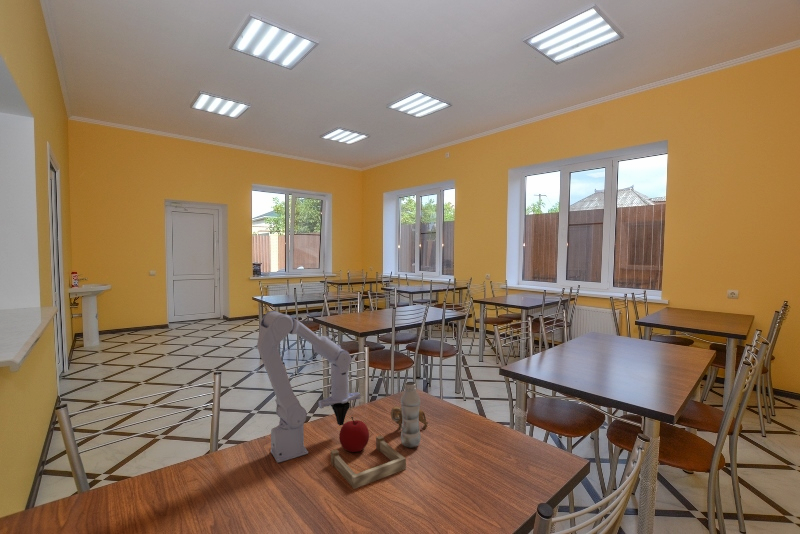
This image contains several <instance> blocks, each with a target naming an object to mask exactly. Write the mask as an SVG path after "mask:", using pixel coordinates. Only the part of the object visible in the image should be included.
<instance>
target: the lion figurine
mask: <svg viewBox="0 0 800 534" xmlns="http://www.w3.org/2000/svg"><path fill="white" fill-rule="evenodd" d="M390 418H391V420H392V422H394V423H395V424H397V425H398V427H397V430H398V431H401V430H402V408H401V407H400V406H394V407H392V408H391V411H390ZM426 418H427V417H426V415H425V412H424V410H422V409H420V408H419V423H422V424H423V426H422V428H423V429H425V430H426V429H427V428H428V424H429V422H428V421H427V419H426Z"/></svg>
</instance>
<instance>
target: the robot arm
mask: <svg viewBox="0 0 800 534" xmlns="http://www.w3.org/2000/svg"><path fill="white" fill-rule="evenodd" d="M289 334H291V335H297V336H298V337H300V338H302V339H304V341H307V342H308V343H309V344H311V345H312V349H313V351H314V352H315V353H316V354H318V355H320V356H321V357H322V358H324V359H325V360H327V362H328V363H330V382H331V383H330V387H331V389H330V390H331V392H330V393H331V394H330V395H331V396H328V397H326V398H324V399H321V400H318V408H319V409H324V408H325V407H331V409H332V410H333V413H334V415H335V419H336V423H337V425H338V426H343V425H344V424H345V419H346V415H347V412H349V408H350V407H351V403H349V402H350V401H354V400H362V398H361V395H362V394H361V393H360V392H358V391H356V392H349V367H350V365H351V363H352V360H353V359H352V357H351V355H350V352H349V351H348V350H345V349H343V348H342V346H341V345H340V344H339V343H335V342H334V341H332V337H330V336H328V335H321V336H319V335H318V334H316V333H315V332H314V331H313V330H311V329H310V328H309V327H307V326H306V325H305V324H303V323H302V322H301V321H299V320H298V319H295V318H294V317H291V316H290V315H289V314H286V313H282V312H279V311H277V310H270V311H268V312H266V313H265V314H264V315H263V317H262V318H261V320H260V322H259V332H258V336H257V344H256V346H257V347H256V348H257V350H258V353H259V356H260V358H261V361H262V363H263V365H264V369H265V371H266V373H267V377H268V379H269V383H270V384H271V387H272V389H273V392H274V395H275V397H276V398H275V403H276V406H275V407H276V409H275V412H276V415H277V417H279V421H278V422H279V423H278V425H277V426H274V427H273V428H271V431H270V454H271V455H272V456H273V457H274V459H275V462H276V463H282V462H285V461H289V460H292V459H296V458H298V457H302V456H304V455H307V454H309V451H308V450H307V448H306V447H305V441H304V440H305V435H304V434H305V433H304V432H305V431H304V430H305V428H304V423H305V421H306V420H307V415H308V412H307V411H306V408H304V407H303V406H302V405H301V403H300V401H299V399H298V398H297V396H296V394H295V393H294V390H293V388H292V384H291V382H290V379H289V377H288V374H287V372H286V368H285V366H284V363H283V360H282V358H281V354H280V353H279V349H278V346H279V345H280V343H281V342H282V341H283V340H284V339H285V338H286V337H287V336H288V335H289Z"/></svg>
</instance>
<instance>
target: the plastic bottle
mask: <svg viewBox="0 0 800 534" xmlns="http://www.w3.org/2000/svg"><path fill="white" fill-rule="evenodd" d="M400 406H401V407H400V408H402V427H401V430H400V441H401V442H400V443H401V444H402V445H403V446H404V447H406V448H416V447H418V446H419V444H420V443H421V440H422V439H421V438H422V437H421V431H420V421H419V409H420V406H421V397H420V395H419V393H418V392H417V383H416V382H415V381H412V380H411V381H409V380H408V381H406V382H404V392H403V393H402V394H401V396H400Z"/></svg>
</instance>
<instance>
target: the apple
mask: <svg viewBox="0 0 800 534" xmlns="http://www.w3.org/2000/svg"><path fill="white" fill-rule="evenodd" d="M351 419H352V420H350V421H347V422H344V424H343V425H341V428H340V431H339V435H338V437H339V442H340V445H341V447H342V448H343V449H344V450H345V451H348V452H349V453H355V452H356V453H357V452H358V453H359V452H361V451H362V450H364V449H365V448H366V446H367V445H368V443H369V438H370V429H369V428H368V426H367V424H366V423H365V422H364V421H363V420H362V421H361V420H358V419H357V420H354V417H353V416H351Z"/></svg>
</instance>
